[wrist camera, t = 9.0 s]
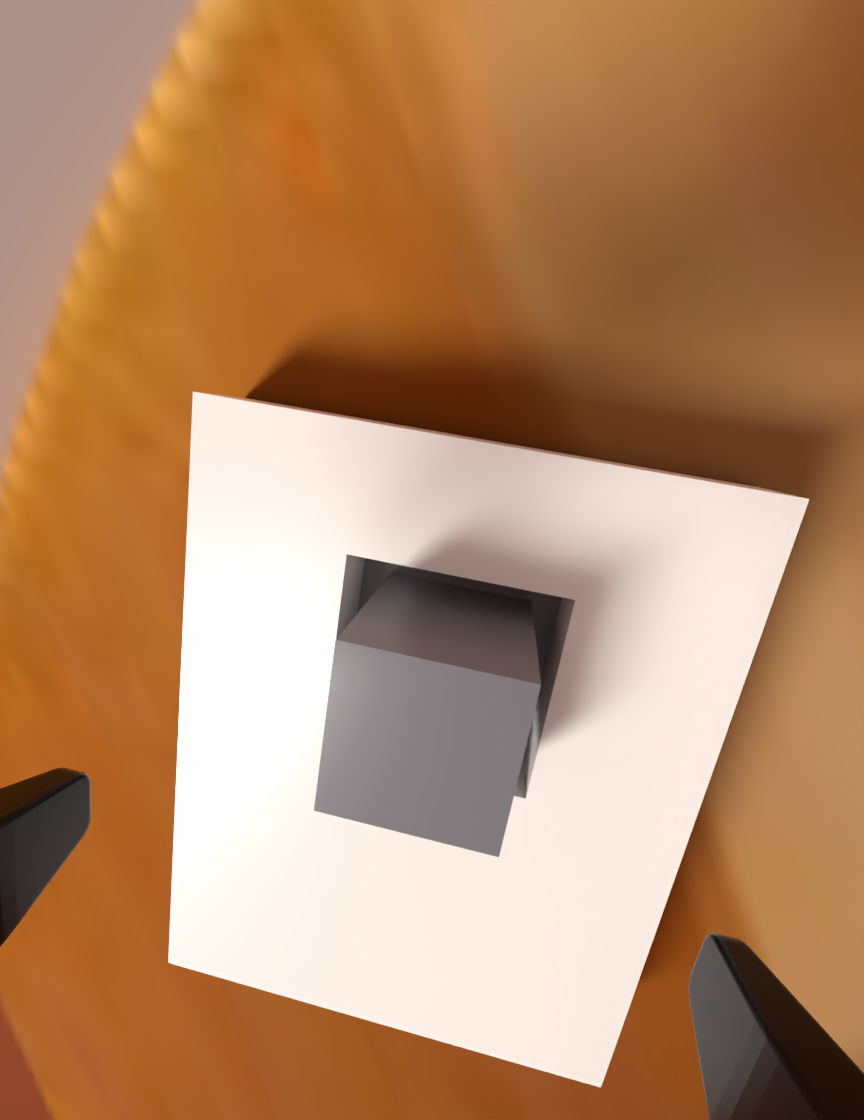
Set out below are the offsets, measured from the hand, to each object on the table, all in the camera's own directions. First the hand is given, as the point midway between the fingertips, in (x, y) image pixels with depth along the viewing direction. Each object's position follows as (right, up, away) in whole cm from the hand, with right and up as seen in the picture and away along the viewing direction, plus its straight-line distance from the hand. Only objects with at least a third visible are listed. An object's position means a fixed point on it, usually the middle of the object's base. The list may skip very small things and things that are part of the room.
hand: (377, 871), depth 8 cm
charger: (+1, +2, +8) cm, 8 cm away
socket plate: (+1, -1, +9) cm, 9 cm away
